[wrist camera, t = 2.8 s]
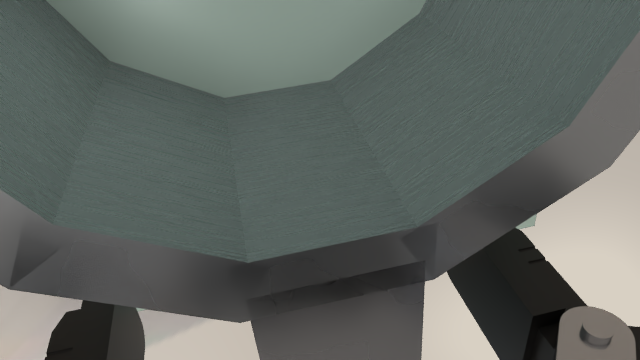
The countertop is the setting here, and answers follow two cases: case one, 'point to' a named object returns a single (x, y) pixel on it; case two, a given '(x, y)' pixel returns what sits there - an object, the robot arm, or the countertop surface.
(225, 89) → the mat
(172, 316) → the countertop surface
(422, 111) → the ring
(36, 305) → the countertop surface
